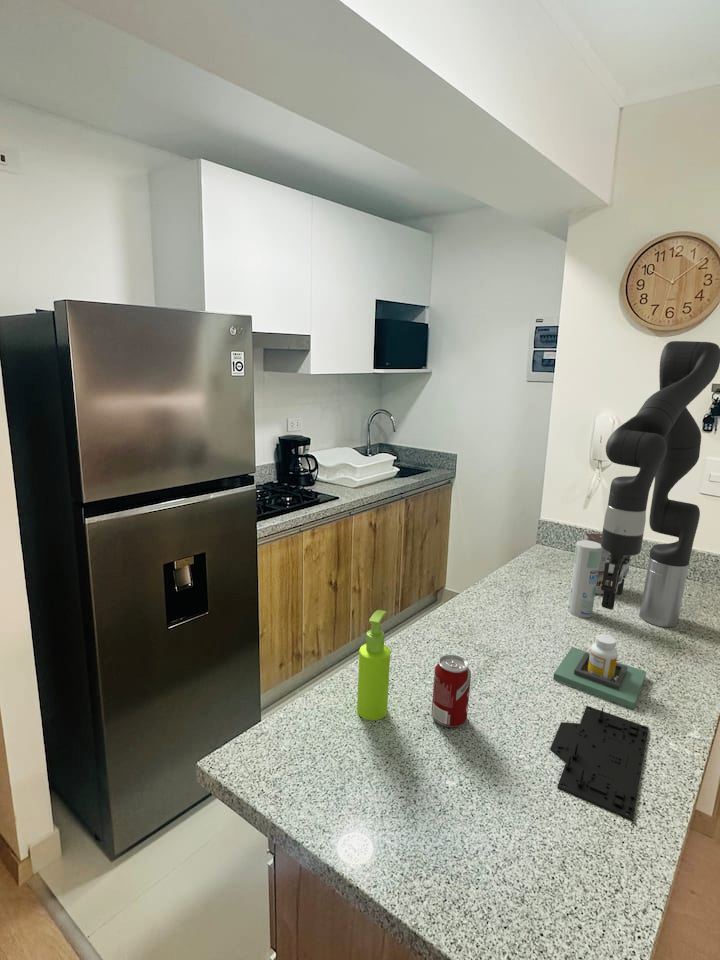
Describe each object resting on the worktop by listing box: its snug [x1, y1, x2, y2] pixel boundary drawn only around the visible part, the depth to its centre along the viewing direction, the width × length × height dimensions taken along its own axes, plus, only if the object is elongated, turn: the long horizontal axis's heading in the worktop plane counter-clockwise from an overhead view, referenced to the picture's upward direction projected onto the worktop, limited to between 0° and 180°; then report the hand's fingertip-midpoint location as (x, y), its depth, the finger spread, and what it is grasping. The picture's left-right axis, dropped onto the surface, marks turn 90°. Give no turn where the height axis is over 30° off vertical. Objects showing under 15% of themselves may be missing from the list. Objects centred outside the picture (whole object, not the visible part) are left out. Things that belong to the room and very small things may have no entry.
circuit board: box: [549, 705, 650, 822], centre depth 95 cm, size 25×14×3 cm, turn 147°
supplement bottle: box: [586, 633, 618, 681], centre depth 117 cm, size 5×5×10 cm
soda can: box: [431, 654, 472, 728], centre depth 102 cm, size 7×7×12 cm
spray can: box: [567, 539, 602, 619], centre depth 146 cm, size 6×6×20 cm
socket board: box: [552, 646, 647, 710], centre depth 117 cm, size 14×16×2 cm
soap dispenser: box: [356, 609, 391, 721], centre depth 103 cm, size 6×7×20 cm
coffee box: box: [583, 533, 612, 595], centre depth 163 cm, size 9×6×16 cm
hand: (612, 600), depth 113 cm, fingers open, 8 cm apart
